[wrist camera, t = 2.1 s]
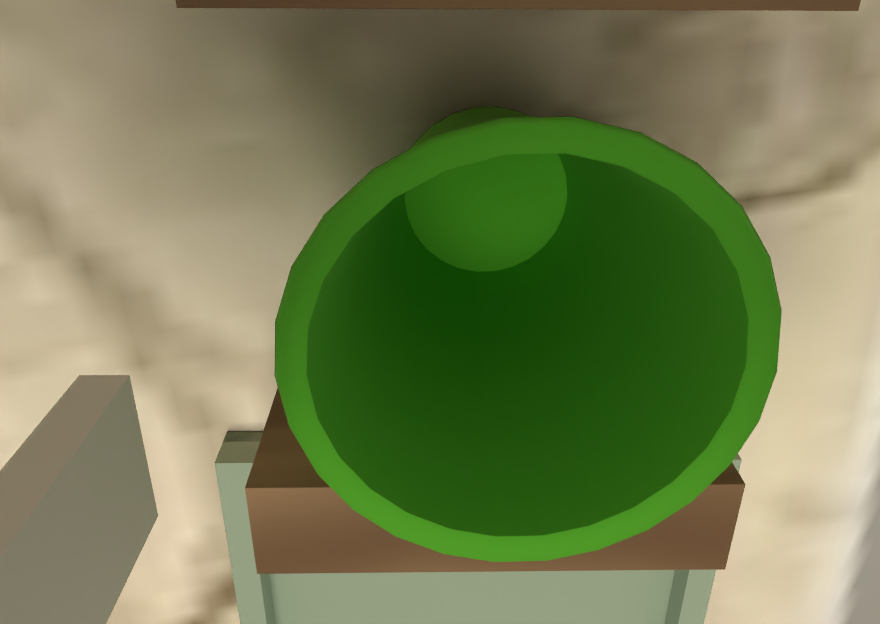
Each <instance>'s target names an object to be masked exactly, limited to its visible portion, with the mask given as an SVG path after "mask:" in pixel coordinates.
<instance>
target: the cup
mask: <svg viewBox="0 0 880 624" xmlns="http://www.w3.org/2000/svg"><path fill="white" fill-rule="evenodd" d="M780 324H781V306H780V301H779V297H778V292H777V287H776V282H775V278H774V273H773V268H772V264H771V259H770V256H769V254H768V252H767V250H766V249H765V247H764V245H763V243H762V241H761V239H760V238H759V236H758V234H757V232H756V230H755V229H754V227H753V225H752V223H751V221H750V220H749V218H748V216H747V214H746V212H745V211H744V209H743V207H742V206H741V205H740V204H739V203H738V202H737V201H736V200H735V199H734V198H733V197H732V196H731V195H730V194H729V193H728V192H727V191H726V190H725V189H724V188H723V187H722V186H721V185H720V184H719V183H718V182H717V181H716V180H715V179H714V178H713V177H712V176H711V175H710V174H709V173H708V172H706V171H705V170H704V169H703V168H702V167H701V166H700V165H699V164H698V163H696V162H695V161H693V160H691V159H689V158H687V157H685V156H683V155H682V154H680V153H678V152H676V151H674V150H672V149H670V148H669V147H667V146H665V145H663V144H661V143H659V142H657V141H656V140H654V139H652V138H650V137H648V136H646V135H644V134H643V133H641V132H637V131H632V130H628V129H624V128H619V127H615V126H611V125H607V124H602V123H598V122H594V121H590V120H585V119H581V118H577V117H532V116H529V115H526V114H523V113H521V112H517V111H513V110H509V109H504V108H500V107H475V108H472V109H468V110H464V111H461V112H457V113H454V114H452V115H450V116H448V117H446V118H445V119H443V120H441V121H439V122H437V123H436V124H434V125H433V126H432V127H431V128H430V129H429V130H428V131H427V132H426V133H425V134H423V135H422V136H421V137H420V138H419V139H418V140H417V141H416V143H415V144H414V145H413V146H412V147H411V148H410V149H409V150H407V151H406V152H404V153H402V154H400V155H398V156H397V157H395V158H393V159H391V160H389V161H387V162H386V163H384V164H382V165H380V166H378V167H377V168H375V169H373V170H372V171H370V172H369V173H368V174H367V175H366V176H365V177H364V178H363V179H362V180H361V181H360V182H359V183H358V184H357V185H355V186H354V187H353V188H352V189H351V190H350V191H349V192H348V193H347V194H346V195H345V196H344V197H343V198H342V199H340V200H339V201H338V202H337V203H336V204H335V205H334V206H333V207H332V208H331V209H330V210H329V211H328V212H327V213H325V214H324V216H323V217H322V219H321V221H320V222H319V224H318V225H317V227H316V228H315V230H314V232H313V233H312V235H311V236H310V238H309V240H308V241H307V243H306V244H305V246H304V248H303V249H302V251H301V252H300V254H299V256H298V257H297V259H296V260H295V262H294V264H293V265H292V267H291V270H290V273H289V277H288V280H287V283H286V287H285V290H284V294H283V297H282V300H281V304H280V307H279V310H278V314H277V317H276V321H275V378H276V382H277V386H278V389H279V393H280V396H281V400H282V404H283V407H284V411H285V414H286V418H287V422H288V425H289V427H290V429H291V430H292V432H293V434H294V435H295V437H296V439H297V440H298V442H299V444H300V445H301V447H302V449H303V451H304V452H305V454H306V456H307V457H308V459H309V461H310V462H311V464H312V466H313V467H314V469H315V471H316V472H317V474H318V475H319V476H320V477H321V478H322V479H323V480H324V481H325V482H326V483H327V484H328V485H329V486H330V487H331V488H332V489H333V490H334V491H335V492H336V493H337V494H338V495H339V496H340V497H341V498H342V499H343V500H344V501H345V502H346V503H347V504H348V505H349V506H350V507H351V508H352V509H353V510H354V511H356V512H357V513H359V514H360V515H362V516H364V517H365V518H367V519H368V520H370V521H372V522H373V523H375V524H376V525H378V526H380V527H381V528H383V529H384V530H386V531H388V532H389V533H391V534H392V535H394V536H396V537H398V538H401V539H404V540H407V541H409V542H412V543H415V544H418V545H420V546H423V547H426V548H429V549H431V550H434V551H437V552H439V553H442V554H447V555H453V556H460V557H466V558H472V559H478V560H485V561H491V562H517V561H548V560H553V559H557V558H562V557H567V556H572V555H577V554H582V553H587V552H591V551H596V550H600V549H602V548H605V547H607V546H610V545H612V544H615V543H617V542H620V541H622V540H625V539H627V538H629V537H632V536H634V535H637V534H639V533H642V532H644V531H647V530H649V529H650V528H652V527H653V526H655V525H656V524H658V523H660V522H661V521H663V520H664V519H666V518H667V517H669V516H670V515H672V514H674V513H675V512H677V511H678V510H680V509H681V508H683V507H685V506H686V505H688V504H689V503H691V502H692V501H693V500H694V499H695V498H696V497H697V496H698V495H699V494H700V493H702V492H703V491H704V490H705V489H706V488H707V487H708V486H709V485H710V484H711V483H712V482H713V481H714V480H715V479H716V478H717V477H718V476H719V475H720V474H721V473H722V472H723V471H724V470H725V469H726V468H727V467H728V466H729V465H730V464H731V463H732V461H733V460H734V458H735V457H736V455H737V454H738V452H739V451H740V449H741V448H742V446H743V445H744V443H745V441H746V440H747V438H748V437H749V435H750V434H751V432H752V431H753V429H754V428H755V426H756V425H757V423H758V422H759V420H760V417H761V414H762V411H763V408H764V406H765V403H766V400H767V397H768V394H769V392H770V389H771V386H772V383H773V380H774V378H775V375H776V372H777V363H778V350H779V337H780Z"/></svg>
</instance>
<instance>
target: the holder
mask: <svg viewBox="0 0 880 624" xmlns="http://www.w3.org/2000/svg"><path fill="white" fill-rule="evenodd" d="M860 1H861V0H176V4H177V8H351V9H577V10H804V11H858V9H859V5H860ZM744 488H745V483H744V481H743V480H742V478H741V476H740V475H739V473H738V471H737V469H736V468H735V466H734V464H733V463H731V464H730V465H729V466H728V467H727V468H726V469H725V470H724V471H723V472H722V473H721V474H720V475H719V476H718V477H717V478H716V479H715V480H714V481H713V482H712V483H711V484H710V485H709V486H708V487H707V488H706V489H705V490H704V491H703V492H702V493H700V494H699V495H698V496H697V497H696V498H695V499H694V500H693V501H692V502H691V503H689V504H688V505H686V506H685V507H683V508H681V509H680V510H678V511H677V512H675V513H674V514H672V515H670V516H669V517H667V518H666V519H664V520H663V521H661V522H660V523H658V524H656V525H655V526H653V527H652V528H650V529H649V530H647V531H644V532H642V533H639V534H637V535H634V536H632V537H629V538H627V539H625V540H622V541H620V542H617V543H615V544H612V545H610V546H607V547H605V548H602V549H600V550H596V551H591V552H587V553H582V554H577V555H572V556H567V557H562V558H557V559H553V560H548V561H517V562H491V561H485V560H478V559H472V558H466V557H460V556H453V555H447V554H442V553H439V552H437V551H434V550H431V549H429V548H426V547H423V546H420V545H418V544H415V543H412V542H409V541H407V540H404V539H401V538H398V537H396V536H394V535H392V534H391V533H389V532H388V531H386V530H384V529H383V528H381V527H380V526H378V525H376V524H375V523H373V522H372V521H370V520H368V519H367V518H365V517H364V516H362V515H360V514H359V513H357V512H356V511H354V510H353V509H352V508H351V507H350V506H349V505H348V504H347V503H346V502H345V501H344V500H343V499H342V498H341V497H340V496H339V495H338V494H337V493H336V492H335V491H334V490H333V489H332V488H331V487H330V486H329V485H328V484H327V483H326V482H325V481H324V480H323V479H322V478H321V477H320V476H319V475H318V474H317V472H316V471H315V469H314V467H313V466H312V464H311V462H310V461H309V459H308V457H307V456H306V454H305V452H304V451H303V449H302V447H301V445H300V444H299V442H298V440H297V439H296V437H295V435H294V434H293V432H292V430H291V429H290V427H289V425H288V422H287V418H286V414H285V411H284V407H283V404H282V400H281V396H280V393H279V389H277V392H276V395H275V398H274V401H273V404H272V407H271V410H270V413H269V416H268V419H267V422H266V425H265V428H264V431H263V434H262V437H261V440H260V444H259V447H258V450H257V453H256V456H255V459H254V462H253V465H252V468H251V471H250V474H249V477H248V480H247V483H246V486H245V492H246V500H247V507H248V514H249V521H250V528H251V535H252V542H253V549H254V556H255V563H256V570H257V574H299V573H403V572H508V571H612V570H716V569H725V567H726V563H727V559H728V555H729V550H730V546H731V542H732V538H733V534H734V529H735V525H736V521H737V517H738V513H739V508H740V504H741V500H742V496H743V492H744Z"/></svg>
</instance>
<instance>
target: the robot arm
mask: <svg viewBox="0 0 880 624" xmlns="http://www.w3.org/2000/svg"><path fill="white" fill-rule="evenodd" d="M157 517H158V513H157V508H156V503H155V498H154V493H153V489H152V484H151V479H150V474H149V469H148V464H147V459H146V454H145V449H144V444H143V440H142V435H141V430H140V425H139V420H138V415H137V410H136V405H135V400H134V395H133V390H132V386H131V381H130V376H129V375H79V376H78V378H77V379H76V380H75V381H74V382H73V384H72V385H71V386H70V387H69V388H68V390H67V391H66V392H65V393H64V394H63V396H62V397H61V398H60V399H59V401H58V402H57V403H56V404H55V405H54V407H53V408H52V409H51V410H50V411H49V413H48V414H47V415H46V416H45V417H44V419H43V420H42V421H41V422H40V424H39V425H38V426H37V427H36V428H35V430H34V431H33V432H32V433H31V434H30V436H29V437H28V438H27V439H26V440H25V442H24V443H23V444H22V445H21V446H20V448H19V449H18V450H17V451H16V453H15V454H14V455H13V456H12V457H11V459H10V460H9V461H8V462H7V463H6V465H5V466H4V467H3V468H2V469H1V471H0V624H106V622H107V620H108V618H109V616H110V614H111V612H112V610H113V608H114V606H115V604H116V602H117V600H118V598H119V596H120V593H121V591H122V589H123V587H124V585H125V583H126V581H127V579H128V577H129V575H130V573H131V571H132V569H133V566H134V564H135V562H136V560H137V558H138V556H139V554H140V552H141V550H142V548H143V546H144V544H145V542H146V540H147V537H148V535H149V533H150V531H151V529H152V527H153V525H154V523H155V521H156V519H157Z"/></svg>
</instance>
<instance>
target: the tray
mask: <svg viewBox="0 0 880 624" xmlns="http://www.w3.org/2000/svg"><path fill="white" fill-rule="evenodd" d="M262 434H263V432H227V434H226V436H225V439H224V441H223V444H222V446H221V449H220V451H219V454H218V456H217V459H216V461H215V469H216V475H217V481H218V487H219V494H220V500H221V506H222V512H223V518H224V525H225V531H226V537H227V543H228V549H229V556H230V562H231V568H232V574H233V580H234V587H235V593H236V599H237V605H238V611H239V618H240V624H704V620H705V615H706V611H707V607H708V602H709V598H710V594H711V589H712V585H713V581H714V576H715V572H716V570H612V571H508V572H403V573H299V574H257V570H256V563H255V556H254V549H253V542H252V535H251V528H250V521H249V514H248V507H247V500H246V492H245V486H246V483H247V480H248V477H249V474H250V471H251V468H252V465H253V462H254V459H255V456H256V453H257V450H258V447H259V444H260V440H261V437H262ZM732 463H733V464H734V466H735V468H736V469H737V471H738V473H739V468H740V464H741V458H740V456H739V455H738V454H737V455H736V457H735V458H734V460H733V461H732Z"/></svg>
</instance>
